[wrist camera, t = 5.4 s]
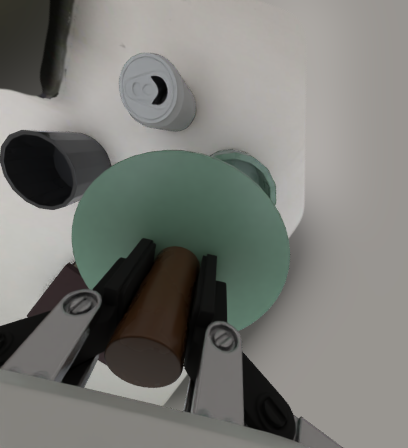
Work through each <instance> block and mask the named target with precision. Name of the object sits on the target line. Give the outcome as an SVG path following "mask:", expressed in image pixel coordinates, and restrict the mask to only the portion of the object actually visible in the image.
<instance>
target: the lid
mask: <svg viewBox="0 0 408 448" xmlns="http://www.w3.org/2000/svg"><path fill="white" fill-rule="evenodd" d="M142 238H146V239H150V240H153V243H155V244H156V249H155V255H154V261H153V263H152V265H151V267H150V269H149V270H148V272H147V274H146V276H145V278H144V279H143V281H142V283H141V285H140V287H139V288H138V290H137V292H136V294H135V296H134V297H133V299H132V301H131V303H130V305H129V306H128V308H127V310H126V312H125V313H124V315H123V317H122V319H121V321H120V322H119V324H118V326H117V328H116V330H115V331H114V333H113V335H112V337H111V339H110V340H109V342H108V344H107V346H106V348H105V353H104V358H105V362H106V364H107V366H108V367H109V369H110V370H111V371H112V372H113V373H114V374H115V375H116V376H118V377H119V378H121V379H122V380H124V381H126V382H128V383H131V384H133V385H137V386H141V387H148V388H158V387H164V386H167V385H170V384H172V383H173V382H175V381H176V380H177V379H178V378H179V376H180V375H181V373H182V370H183V364H184V358H185V353H186V347H187V341H188V335H189V330H188V329H189V324H190V318H191V313H192V307H193V301H194V296H195V290H196V284H197V279H198V273H199V268H200V265H201V261H202V257H203V255H204V256H207V254H211V255H215V256H217V269H216V280H217V281H221V282H225V283H226V286H227V323H229V324H231V325H232V326H233V327H235V328H236V330H237V331H239V330H241V329H243V328H245V327H247V326H249V325H250V324H252V323H253V322H255V321H256V320H257V319H259V318H260V317H261V316H262V315H263V314H264V313H265V312H266V311H267V310H269V308H270V307H271V306H272V305H273V303H274V302H275V301H276V299H277V298H278V296H279V294H280V292H281V291H282V288H283V286H284V284H285V281H286V278H287V273H288V270H289V262H290V248H289V239H288V235H287V231H286V227H285V225H284V223H283V220H282V218H281V216H280V213H279V212H278V210H277V209H276V207H275V205H274V204H273V202H272V200H271V199H270V198H269V197H268V196H267V194H266V193H265V192H264V191H263V190H262V188H261V187H260V186H259V185H258V184H256V183H255V182H254V181H253V180H252V179H251V178H250V177H249V176H247V175H246V174H244V173H243V172H241V171H240V170H238V169H237V168H235V167H234V166H232V165H230V164H228V163H226V162H224V161H222V160H220V159H217V158H214V157H211V156H208V155H205V154H201V153H196V152H190V151H184V150H162V151H153V152H147V153H144V154H140V155H136V156H132V157H130V158H128V159H125V160H123V161H120V162H118V163H117V164H115V165H113V166H112V167H110V168H109V169H107V170H105V171H104V172H103V173H102V174H101V175H100V176H99V177H97V178H96V179H95V180H94V181H93V182H92V184H91V185H90V186H89V187H88V189H87V190H86V191H85V193H84V195H83V196H82V198H81V200H80V202H79V204H78V207H77V209H76V212H75V215H74V220H73V225H72V247H73V253H74V257H75V261H76V264H77V267H78V269H79V272H80V274H81V276H82V278H83V280H84V282H85V283H86V285H87V286H88V288H89V289H91V290H92V289H93V288H94V287H95V286H96V285H97V283H98V282H99V281H100V280H101V279H102V278H103V276H104V275H105V274H106V273H107V272H108V271H109V269H110V268H111V267H112V266H113V265H114V264H115V262H116V261H117V260H118V259H119V258H120V257H123V258H127V257H128V255H129V254H130V253H131V252H132V250H133V249H134V248H135V247H136V245H137V244H138V243H139V242H140V240H141V239H142Z"/></svg>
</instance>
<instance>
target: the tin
mask: <svg viewBox="0 0 408 448" xmlns="http://www.w3.org/2000/svg"><path fill="white" fill-rule="evenodd" d="M211 157H214V158H217V159H220V160H222V161H224V162H226V163H228V164H230V165H232V166H234V167H235V168H237V169H238V170H240V171H241V172H243V173H244V174H246V175H247V176H249V177H250V178H251V179H252V180H253V181H254V182H255V183H256V184H258V185H259V186H260V187H261V188H262V190H263V191H264V192H265V193H266V194H267V196H268V197H269V198H270V199H271V200H272V202H273V204H274V205H275V204H276V186H275V183H274V181H273V179H272V176H271V174H270V172H269V170H268V169H267V168H266V167H265V166H264V165H262V164H261V163H260V162H259V161H258V160H256V159H255V158H254V157H252V156H250V155H249V154H247V153H244V152H241V151H237V150H233V149H230V150H223V151H218V152H216V153H214V154H213V155H211Z"/></svg>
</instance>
